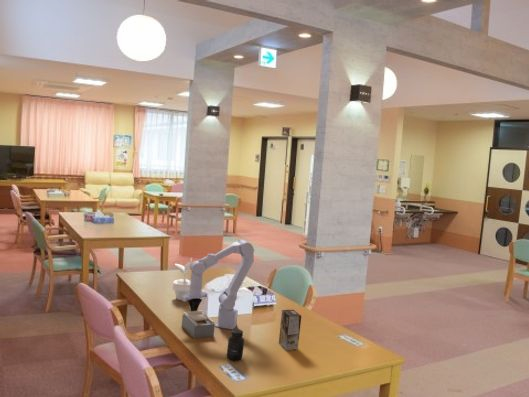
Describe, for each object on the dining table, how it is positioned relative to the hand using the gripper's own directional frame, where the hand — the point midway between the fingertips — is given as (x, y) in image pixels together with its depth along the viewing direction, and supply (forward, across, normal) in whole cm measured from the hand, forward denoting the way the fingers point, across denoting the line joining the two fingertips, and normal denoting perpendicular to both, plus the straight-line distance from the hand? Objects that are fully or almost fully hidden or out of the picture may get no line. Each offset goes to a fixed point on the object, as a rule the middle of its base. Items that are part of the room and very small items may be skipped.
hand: (193, 313), depth 241 cm
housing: (+7, -2, -6) cm, 9 cm away
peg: (+7, -4, -10) cm, 13 cm away
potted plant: (+7, +23, +37) cm, 44 cm away
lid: (+1, -2, -5) cm, 5 cm away
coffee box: (+7, +20, -44) cm, 49 cm away
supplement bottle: (+7, -10, -39) cm, 40 cm away
